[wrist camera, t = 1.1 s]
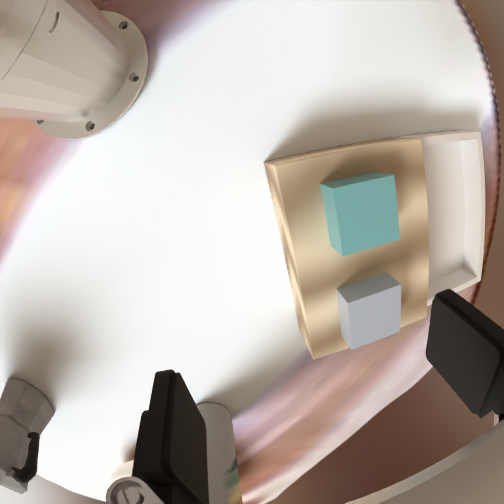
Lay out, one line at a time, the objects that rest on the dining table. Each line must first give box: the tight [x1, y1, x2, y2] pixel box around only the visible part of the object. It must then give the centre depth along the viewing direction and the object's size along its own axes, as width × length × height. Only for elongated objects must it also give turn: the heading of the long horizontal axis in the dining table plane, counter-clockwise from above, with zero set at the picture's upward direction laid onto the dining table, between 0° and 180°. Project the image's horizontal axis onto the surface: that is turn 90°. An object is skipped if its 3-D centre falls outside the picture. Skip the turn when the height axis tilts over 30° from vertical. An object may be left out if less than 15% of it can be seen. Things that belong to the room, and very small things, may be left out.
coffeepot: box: [0, 379, 54, 494], centre depth 23 cm, size 15×9×18 cm, turn 111°
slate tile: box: [336, 272, 401, 350], centre depth 25 cm, size 5×5×2 cm
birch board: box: [264, 138, 429, 360], centre depth 27 cm, size 18×13×5 cm
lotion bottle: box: [196, 403, 243, 504], centre depth 26 cm, size 6×6×20 cm
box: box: [395, 130, 485, 306], centre depth 28 cm, size 18×10×4 cm, turn 13°
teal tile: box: [320, 171, 400, 257], centre depth 22 cm, size 5×5×2 cm
